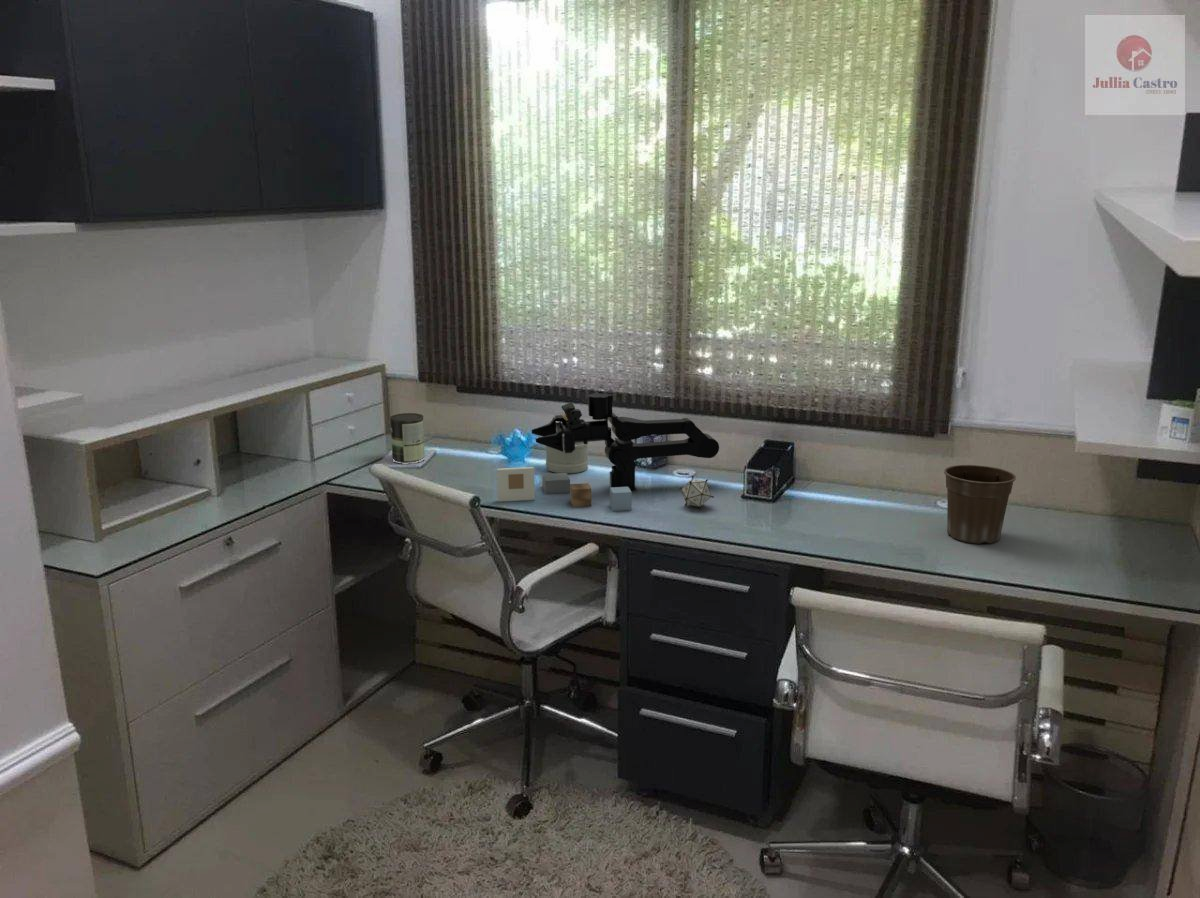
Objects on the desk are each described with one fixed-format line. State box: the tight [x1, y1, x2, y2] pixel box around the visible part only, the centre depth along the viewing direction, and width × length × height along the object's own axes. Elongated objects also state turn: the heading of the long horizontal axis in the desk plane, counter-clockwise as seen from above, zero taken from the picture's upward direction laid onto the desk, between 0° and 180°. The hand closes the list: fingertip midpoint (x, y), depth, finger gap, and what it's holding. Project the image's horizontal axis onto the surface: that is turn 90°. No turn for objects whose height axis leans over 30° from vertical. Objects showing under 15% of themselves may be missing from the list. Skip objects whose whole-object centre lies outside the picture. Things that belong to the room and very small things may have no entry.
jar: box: [545, 412, 589, 475], centre depth 293 cm, size 13×13×18 cm
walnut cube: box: [569, 482, 592, 508], centre depth 261 cm, size 5×5×5 cm
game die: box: [678, 475, 715, 511], centre depth 258 cm, size 9×8×10 cm
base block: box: [541, 472, 571, 495], centre depth 274 cm, size 7×7×4 cm
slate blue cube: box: [609, 486, 633, 512], centre depth 258 cm, size 5×5×5 cm
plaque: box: [496, 466, 536, 502], centre depth 264 cm, size 10×2×9 cm, turn 100°
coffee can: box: [389, 412, 426, 463], centre depth 303 cm, size 10×10×14 cm
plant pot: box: [943, 464, 1017, 544], centre depth 235 cm, size 16×16×16 cm
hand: (533, 436), depth 267 cm, fingers open, 9 cm apart
